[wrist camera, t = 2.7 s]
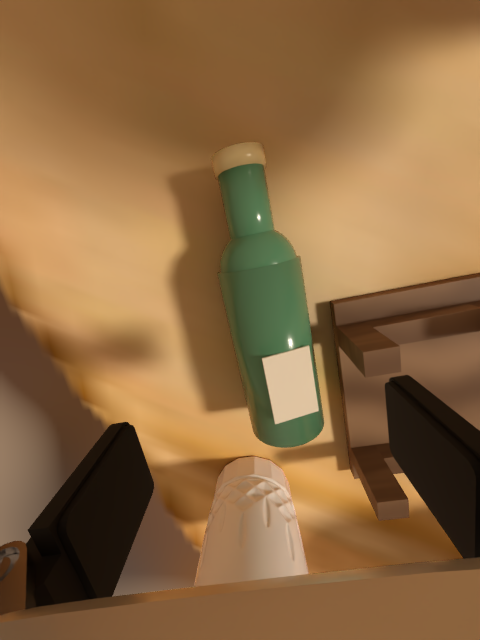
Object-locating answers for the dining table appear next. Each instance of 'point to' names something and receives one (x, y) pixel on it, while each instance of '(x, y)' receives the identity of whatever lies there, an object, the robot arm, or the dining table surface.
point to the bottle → (266, 306)
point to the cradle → (404, 369)
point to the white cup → (251, 526)
